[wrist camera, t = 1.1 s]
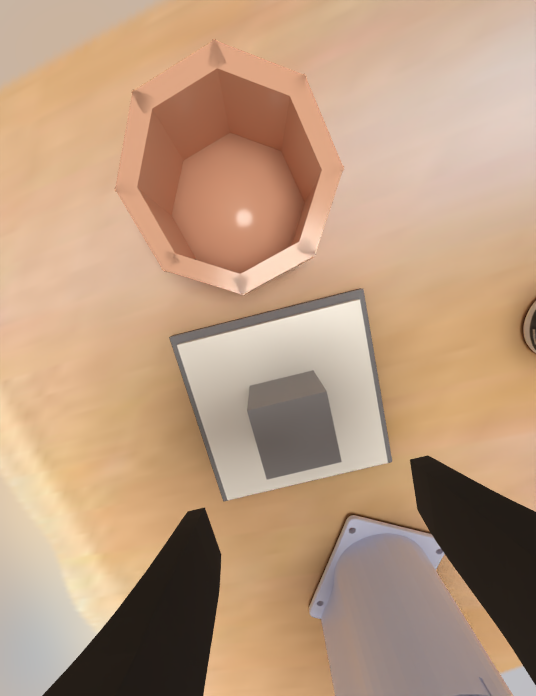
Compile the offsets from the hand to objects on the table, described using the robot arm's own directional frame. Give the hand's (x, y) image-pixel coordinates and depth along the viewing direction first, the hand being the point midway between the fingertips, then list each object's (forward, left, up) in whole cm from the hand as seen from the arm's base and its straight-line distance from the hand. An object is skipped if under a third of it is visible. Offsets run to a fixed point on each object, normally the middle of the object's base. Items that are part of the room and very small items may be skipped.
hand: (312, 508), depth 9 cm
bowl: (+10, +6, -9) cm, 15 cm away
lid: (0, 0, -9) cm, 9 cm away
